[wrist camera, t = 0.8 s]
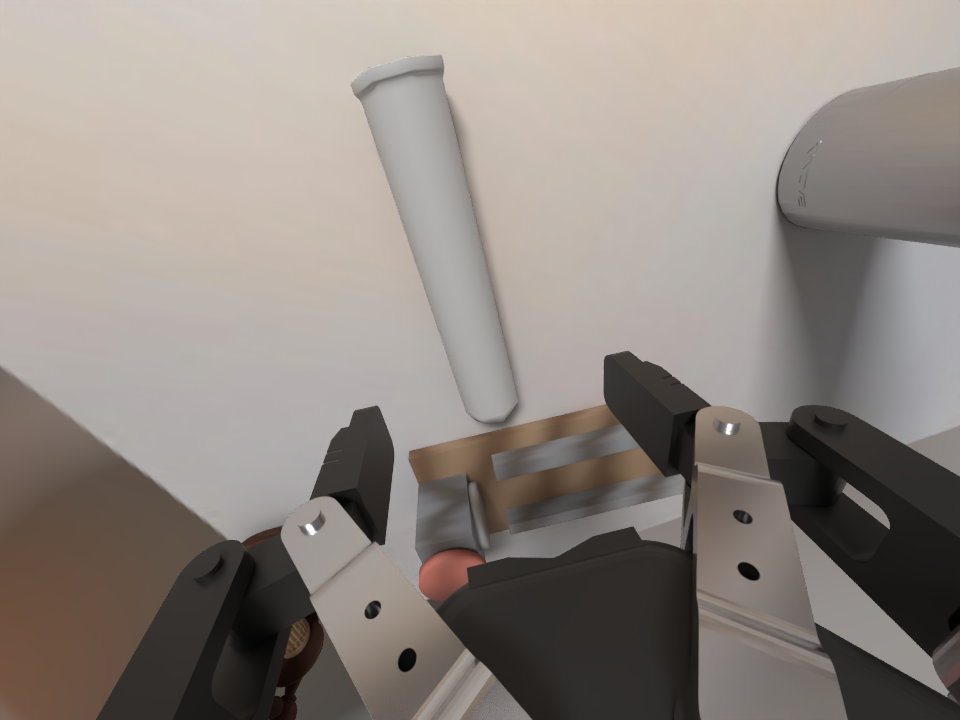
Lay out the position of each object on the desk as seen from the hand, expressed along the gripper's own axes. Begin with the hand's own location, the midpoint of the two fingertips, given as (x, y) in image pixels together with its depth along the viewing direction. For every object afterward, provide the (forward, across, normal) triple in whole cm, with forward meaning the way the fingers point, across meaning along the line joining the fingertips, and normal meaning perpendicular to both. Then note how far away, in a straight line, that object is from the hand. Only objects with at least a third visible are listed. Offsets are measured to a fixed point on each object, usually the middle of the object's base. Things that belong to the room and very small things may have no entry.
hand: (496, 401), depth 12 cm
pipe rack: (+17, -6, +23) cm, 29 cm away
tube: (+18, 0, 0) cm, 18 cm away
